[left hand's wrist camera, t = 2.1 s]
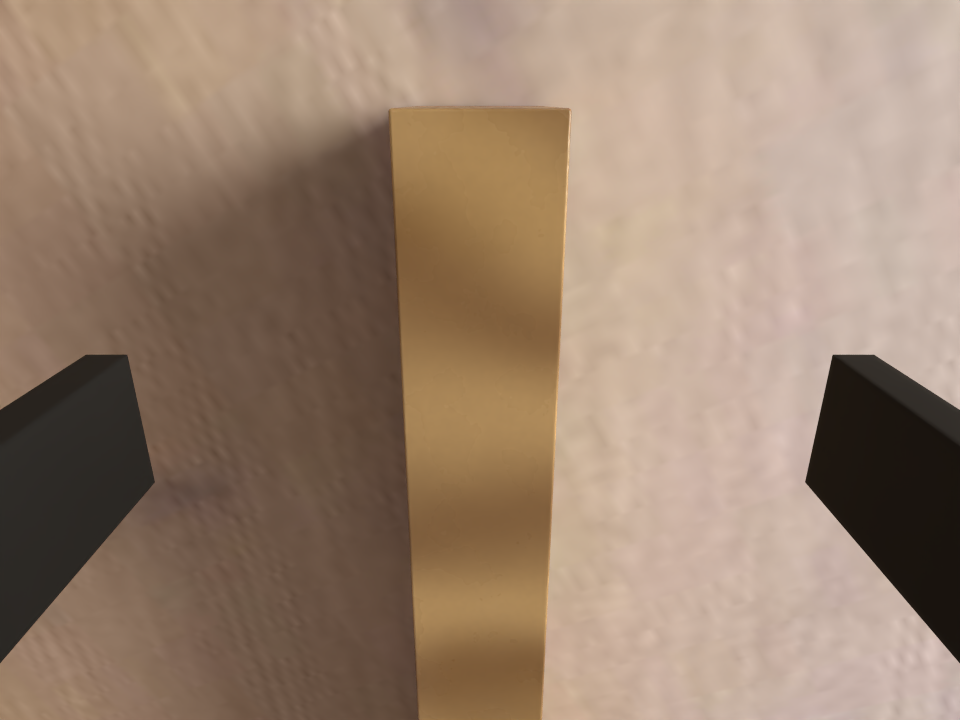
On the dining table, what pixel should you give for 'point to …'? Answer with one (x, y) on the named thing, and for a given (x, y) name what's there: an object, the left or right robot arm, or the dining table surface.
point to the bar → (479, 393)
